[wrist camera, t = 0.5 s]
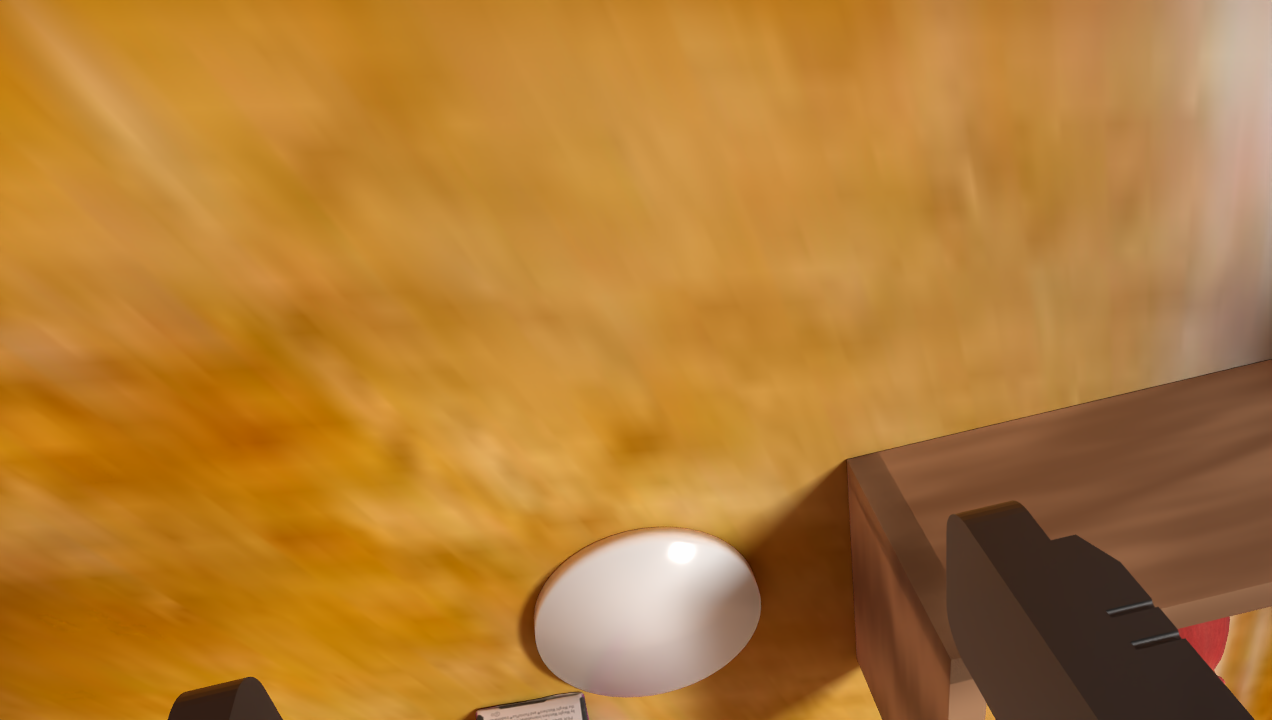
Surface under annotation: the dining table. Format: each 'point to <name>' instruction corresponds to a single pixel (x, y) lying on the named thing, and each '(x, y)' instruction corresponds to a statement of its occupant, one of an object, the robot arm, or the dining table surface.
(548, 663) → the coaster
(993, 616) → the robot arm
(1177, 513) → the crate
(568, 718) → the candy bar box
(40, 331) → the dining table surface
